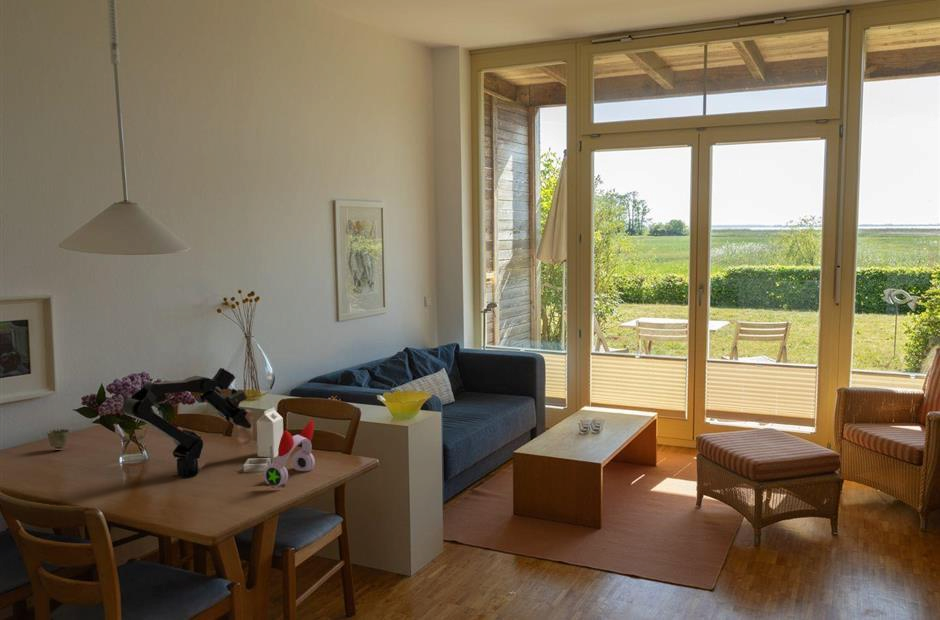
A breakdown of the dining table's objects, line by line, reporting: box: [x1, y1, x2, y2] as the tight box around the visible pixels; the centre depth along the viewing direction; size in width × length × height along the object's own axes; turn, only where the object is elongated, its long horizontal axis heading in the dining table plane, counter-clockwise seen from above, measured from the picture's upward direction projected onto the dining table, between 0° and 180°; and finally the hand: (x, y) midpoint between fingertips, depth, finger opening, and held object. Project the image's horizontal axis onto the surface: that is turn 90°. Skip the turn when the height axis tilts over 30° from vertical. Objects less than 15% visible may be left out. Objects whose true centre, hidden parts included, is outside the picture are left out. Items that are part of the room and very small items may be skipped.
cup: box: [47, 428, 69, 450], centre depth 307 cm, size 8×7×8 cm
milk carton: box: [256, 406, 284, 458], centre depth 293 cm, size 7×7×19 cm
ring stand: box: [232, 446, 275, 476], centre depth 275 cm, size 12×12×10 cm
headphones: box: [263, 419, 316, 488], centre depth 266 cm, size 20×10×20 cm, turn 159°
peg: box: [236, 408, 254, 446], centre depth 288 cm, size 4×4×12 cm
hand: (248, 426), depth 289 cm, fingers closed on peg, 4 cm apart
